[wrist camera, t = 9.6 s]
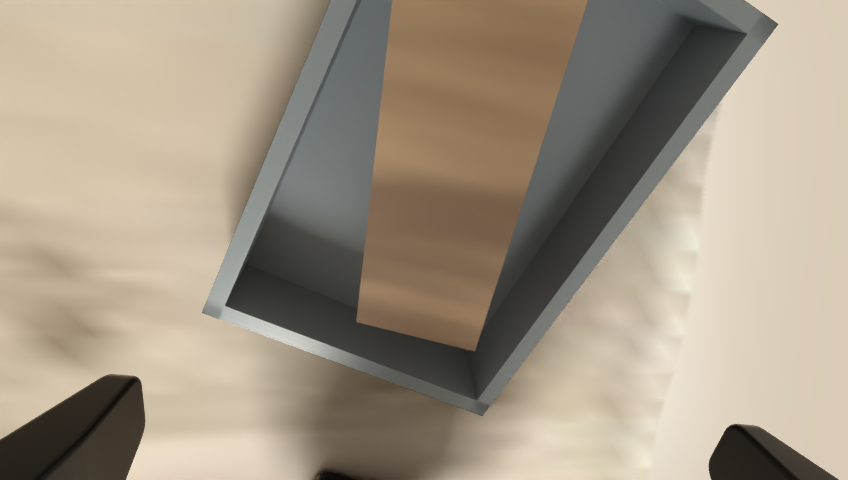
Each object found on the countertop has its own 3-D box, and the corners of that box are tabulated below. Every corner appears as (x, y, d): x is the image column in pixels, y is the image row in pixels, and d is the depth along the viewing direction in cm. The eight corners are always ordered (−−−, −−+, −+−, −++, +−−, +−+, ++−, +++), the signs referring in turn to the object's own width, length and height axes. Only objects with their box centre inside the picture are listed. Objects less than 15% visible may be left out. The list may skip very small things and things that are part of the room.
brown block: (475, 351, 17) (610, -70, 10) (356, 322, 17) (404, -112, 10) (485, 274, 20) (593, -86, 13) (385, 250, 20) (437, -117, 13)
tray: (470, 358, 24) (482, 416, 21) (230, 262, 21) (201, 312, 18) (710, 15, 18) (778, 24, 15) (417, -184, 15) (424, -226, 12)
